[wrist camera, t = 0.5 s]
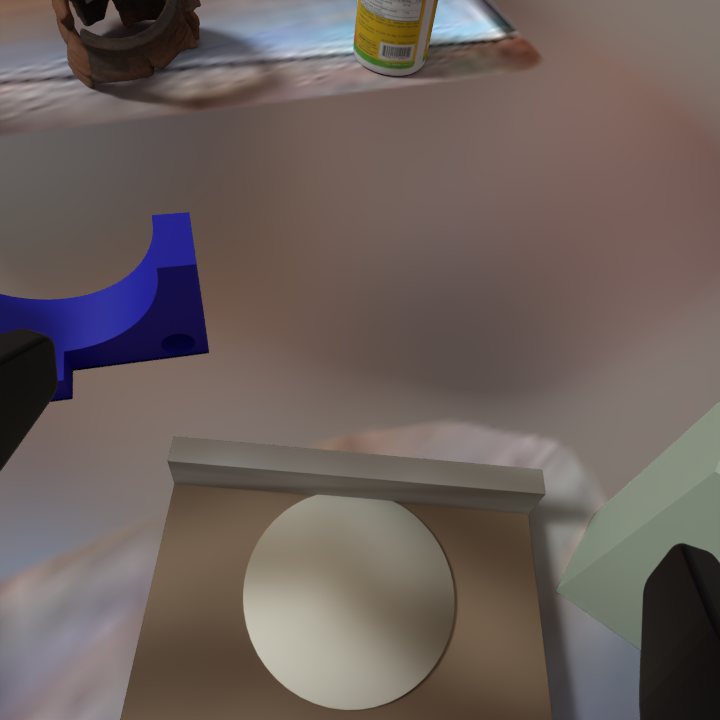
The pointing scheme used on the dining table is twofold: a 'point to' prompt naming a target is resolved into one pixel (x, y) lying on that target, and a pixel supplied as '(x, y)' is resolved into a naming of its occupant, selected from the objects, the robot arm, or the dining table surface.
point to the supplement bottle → (393, 34)
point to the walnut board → (341, 590)
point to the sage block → (648, 529)
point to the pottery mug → (127, 38)
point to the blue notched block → (124, 311)
